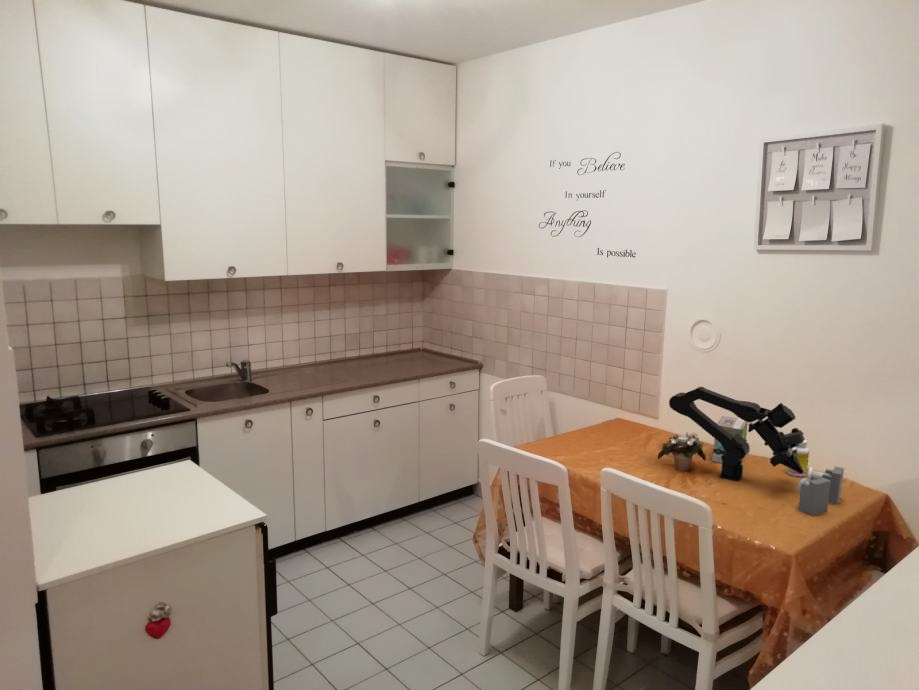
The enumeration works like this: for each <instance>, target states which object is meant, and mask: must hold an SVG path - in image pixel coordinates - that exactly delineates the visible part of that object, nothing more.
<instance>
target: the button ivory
mask: <svg viewBox="0 0 919 690" xmlns="http://www.w3.org/2000/svg"><path fill="white" fill-rule="evenodd" d="M823 474H827V473H825V472H823V471H818V470H814V467H811V466H810V467H808V469H807V475H806V476H807V477H806V478H807V479H809V480H810V481H812V480H817V479H820V478H822V476H823ZM827 475H830V474H827Z"/></svg>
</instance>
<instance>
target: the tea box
mask: <svg viewBox="0 0 919 690" xmlns="http://www.w3.org/2000/svg"><path fill="white" fill-rule="evenodd" d="M716 424H718V425H719V426H720V427H721V428H723V429H724V430H725V431H726V432H728V433H729V434H731V435H734V436H735V435H736V434H737V433H738V434H739V435H740V436H741V437H742V438H744V439H746V440H747V433H748V427H749V422H746V421H744V420H742V419H741V418H739V417H738V418H737V417H736V418H735V417H731V416H725V415H722V416H721V417H720V419H719V420H718V421H717V422H716ZM713 441H714V443H713V451H712V457H711V458H712V462H715V463H716V462H717V463H719V464H722V459H721V456H722V455H723V454H724V453H725V452H726V451H725V450H724V448H723V447H722V445H721V443H720V442H719V441H717V440H716V439H715V438H714V440H713ZM741 460H742V461H743V459H741Z"/></svg>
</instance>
